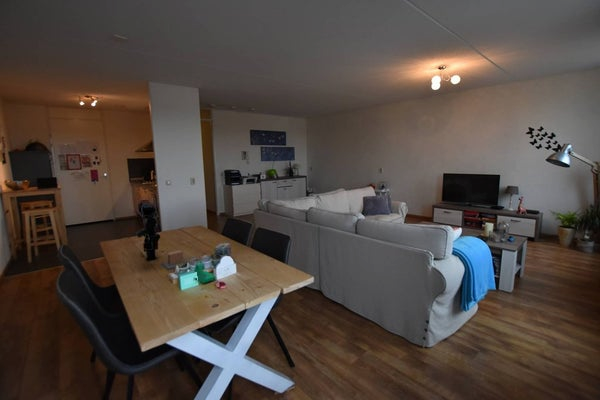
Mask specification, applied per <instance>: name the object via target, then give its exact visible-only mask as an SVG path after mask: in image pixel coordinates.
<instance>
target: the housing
mask: <svg viewBox="0 0 600 400" xmlns="http://www.w3.org/2000/svg"><path fill="white" fill-rule="evenodd" d="M183 253H184V252H183V251H182V250H180V249H178V250H174V251H170V252H167V255H166V256H167V261H168V263H170V265H174V264H178V263H182V262H183V258H184V256H183Z"/></svg>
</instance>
